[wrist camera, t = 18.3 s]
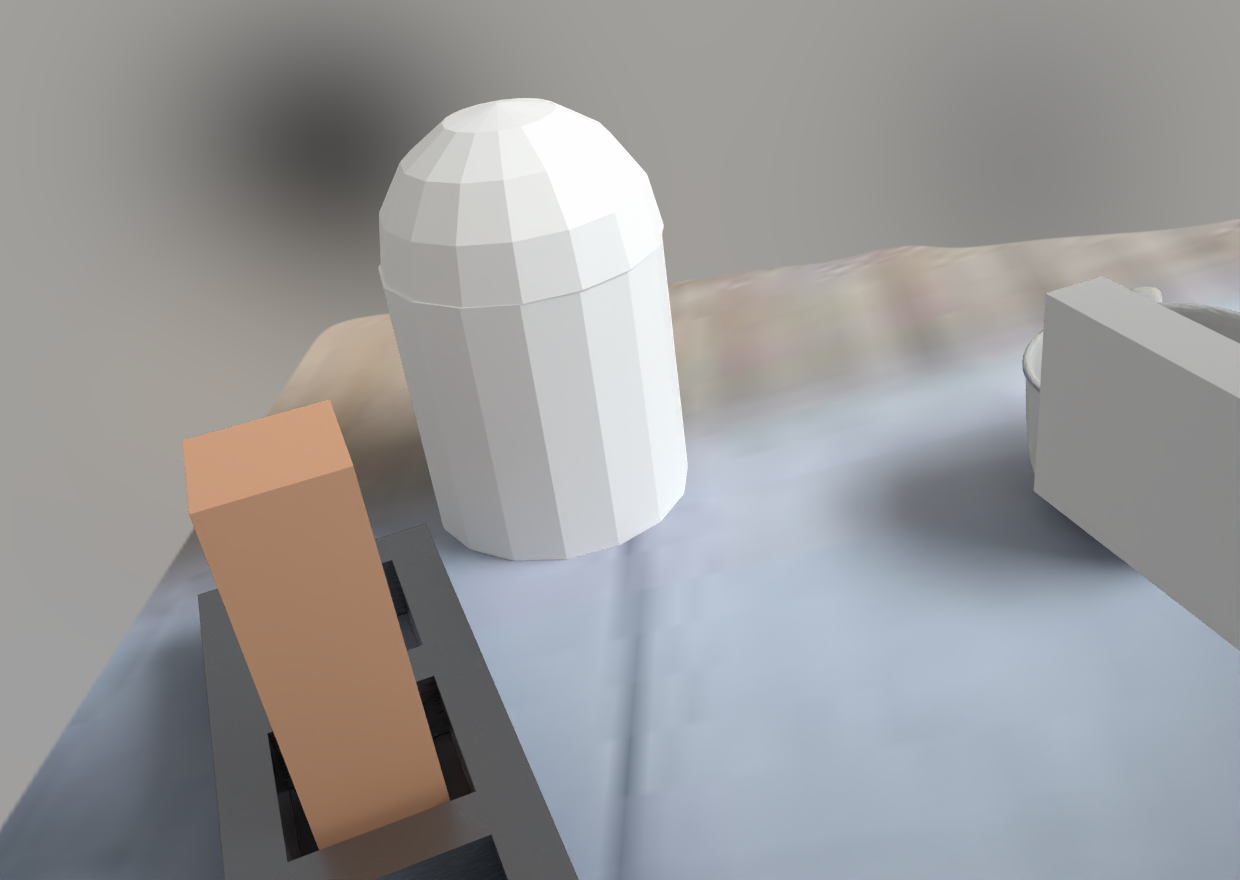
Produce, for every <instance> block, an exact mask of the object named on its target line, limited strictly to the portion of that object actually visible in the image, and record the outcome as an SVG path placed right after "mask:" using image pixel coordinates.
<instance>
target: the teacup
mask: <svg viewBox="0 0 1240 880" xmlns="http://www.w3.org/2000/svg"><path fill="white" fill-rule="evenodd" d="M1130 290H1132V291H1134V292H1136V293H1138V294H1140V295H1142V296H1144V297H1146V298H1148V299H1150V300H1152V301H1154V302H1156V303H1158V304H1160V305H1162V306H1164V307H1166V308H1168V309H1170V310H1172V311H1174V312H1176V313H1178V314H1180V315H1182V316H1184V317H1187V318H1189V319H1191V320H1193V321H1195V322H1197V323H1199V324H1201V325H1203V326H1205V327H1207V328H1209V329H1211V330H1213V331H1215V332H1217V333H1219V334H1221V335H1223V336H1225V337H1227V338H1229V339H1231V340H1233V341H1235V342H1237V343H1239V344H1240V312H1236V311H1232V310H1229V309H1224V308H1220V307H1213V306H1206V305H1200V304H1190V303H1172V302H1162V296H1161V292H1160V291H1159V290H1158V289H1156V288H1154V287H1137V288H1132V289H1130ZM1043 330H1044V329H1043ZM1043 330H1042V331H1041V332H1040V333H1039V334H1037V335H1036V336H1035V337H1034V338H1033V339H1032V341H1031V342H1030V344H1029V345H1028V346H1027V347H1026V349H1025V352H1024V355H1023V361H1022V362H1023V372H1024V375H1025V377H1026V420H1027V435H1028V448H1029V455H1030V461H1031V465H1032V469H1033V472H1034V474H1035V462H1036V446H1037V429H1038V413H1039V396H1040V380H1041V363H1042V347H1043Z"/></svg>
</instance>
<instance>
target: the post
mask: <svg viewBox="0 0 1240 880" xmlns="http://www.w3.org/2000/svg"><path fill="white" fill-rule="evenodd" d="M182 444H183V454H184V464H185V476H186V486H187V496H188V508H189V515H190V518H191V520H192V523H193V526H194V528H195V531H196V533H197V536H198V539H199V541H200V544H201V546H202V549H203V552H204V554H205V557H206V559H207V562H208V564H209V567H210V570H211V572H212V575H213V577H214V580H215V582H216V585H217V588H218V590H219V593H220V595H221V598H222V601H223V603H224V606H225V608H226V611H227V613H228V616H229V619H230V621H231V624H232V626H233V629H234V632H235V634H236V637H237V639H238V642H239V644H240V647H241V650H242V652H243V655H244V657H245V660H246V663H247V665H248V668H249V670H250V673H251V675H252V678H253V681H254V683H255V686H256V688H257V691H258V694H259V696H260V699H261V701H262V704H263V706H264V709H265V712H266V714H267V717H268V719H269V722H270V725H271V727H272V730H273V732H274V735H275V737H276V740H277V743H278V745H279V748H280V750H281V753H282V756H283V758H284V761H285V763H286V766H287V768H288V771H289V774H290V776H291V779H292V781H293V784H294V787H295V789H296V792H297V794H298V797H299V799H300V802H301V805H302V807H303V810H304V812H305V815H306V818H307V820H308V823H309V825H310V828H311V830H312V833H313V836H314V838H315V841H316V843H317V846H318V849H319V850H321V849H324V848H327V847H329V846H332V845H335V844H337V843H340V842H343V841H345V840H348V839H351V838H353V837H356V836H359V835H361V834H364V833H367V832H369V831H372V830H375V829H377V828H380V827H383V826H385V825H388V824H391V823H393V822H396V821H399V820H401V819H404V818H407V817H409V816H412V815H415V814H417V813H420V812H423V811H425V810H428V809H431V808H433V807H436V806H438V805H441V804H444V803H446V802H449V801H450V798H449V794H448V791H447V788H446V784H445V781H444V777H443V774H442V770H441V767H440V763H439V760H438V756H437V753H436V750H435V746H434V743H433V739H432V736H431V732H430V729H429V725H428V722H427V718H426V715H425V711H424V708H423V705H422V701H421V698H420V694H419V691H418V687H417V684H416V680H415V677H414V673H413V670H412V667H411V663H410V660H409V656H408V653H407V649H406V646H405V642H404V639H403V635H402V632H401V629H400V625H399V622H398V618H397V615H396V611H395V608H394V604H393V601H392V597H391V594H390V591H389V587H388V584H387V580H386V577H385V573H384V570H383V566H382V563H381V559H380V556H379V553H378V549H377V546H376V542H375V539H374V535H373V532H372V528H371V525H370V521H369V518H368V514H367V511H366V508H365V504H364V501H363V497H362V494H361V490H360V487H359V483H358V480H357V476H356V473H355V470H354V466H353V463H352V460H351V458H350V455H349V452H348V449H347V446H346V444H345V441H344V438H343V435H342V432H341V430H340V427H339V424H338V421H337V418H336V416H335V413H334V410H333V407H332V404H331V402H330V399H329V400H325V401H321V402H318V403H314V404H311V405H307V406H303V407H300V408H296V409H293V410H289V411H285V412H282V413H278V414H275V415H271V416H267V417H264V418H260V419H257V420H253V421H249V422H246V423H242V424H239V425H235V426H231V427H228V428H224V429H221V430H217V431H213V432H210V433H206V434H203V435H199V436H196V437H192V438H188V439H185V440H182Z"/></svg>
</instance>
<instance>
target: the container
mask: <svg viewBox="0 0 1240 880" xmlns="http://www.w3.org/2000/svg"><path fill="white" fill-rule="evenodd" d="M379 227H380V256H381V264H380V265H379V267H378V269H379V273H380V277H381V281H382V285H383V289H384V293H385V296H386V301H387V305H388V309H389V313H390V317H391V321H392V325H393V329H394V333H395V337H396V341H397V345H398V349H399V353H400V357H401V361H402V365H403V369H404V373H405V377H406V381H407V385H408V389H409V393H410V397H411V401H412V405H413V409H414V413H415V417H416V421H417V425H418V429H419V433H420V437H421V441H422V445H423V449H424V453H425V457H426V461H427V465H428V469H429V473H430V477H431V481H432V485H433V489H434V493H435V497H436V501H437V505H438V509H439V513H440V516H441V520H442V524H443V528H444V529H445V530H446V531H447V532H449V533H450V534H451V535H452V536H454V537H455V538H456V539H457V540H459V541H460V542H461V543H462V544H464V545H465V546H466V547H468V548H469V549H470V550H473V551H477V552H481V553H485V554H489V555H493V556H497V557H501V558H504V559H508V560H512V561H529V560H567V559H571V558H574V557H578V556H582V555H585V554H589V553H593V552H597V551H600V550H604V549H608V548H612V547H615V546H619V545H621V544H623V543H624V542H626V541H628V540H630V539H631V538H633V537H635V536H637V535H638V534H640V533H642V532H644V531H645V530H647V529H649V528H651V527H652V526H654V525H656V524H658V523H659V522H661V521H662V519H663V518H664V517H665V516H666V515H667V513H668V512H669V511H670V510H671V509H672V507H673V506H674V505H675V504H676V503H677V501H678V500H679V499H680V498H681V497H682V495H683V494H684V490H685V482H686V474H687V467H688V464H687V455H686V446H685V437H684V428H683V419H682V410H681V401H680V392H679V383H678V374H677V365H676V356H675V347H674V338H673V329H672V320H671V311H670V302H669V293H668V284H667V276H666V267H665V258H664V248H663V239H662V231H663V227H664V225H663V222H662V219H661V216H660V213H659V209H658V206H657V203H656V201H655V197H654V194H653V192H652V188H651V185H650V182H649V179H648V176H647V174H646V173H645V171H644V170H643V169H642V168H641V167H640V166H639V165H638V164H637V162H636V161H635V160H634V159H633V158H632V157H631V156H630V155H629V153H628V152H627V151H626V150H625V149H624V148H623V147H622V145H620V143H619V142H618V141H617V140H616V139H615V138H614V136H612V134H611V133H610V132H609V131H608V130H607V129H606V128H605V127H604V126H603V125H602V124H600V123H599V122H597V121H595V120H593V119H591V118H588V117H586V116H584V115H582V114H579V113H577V112H575V111H572V110H570V109H568V108H565V107H563V106H561V105H558V104H556V103H554V102H552V101H547V100H543V99H535V98H534V99H533V98H518V99H507V100H498V101H493V102H488V103H484V104H478V105H475V106H472V107H469V108H465V109H462V110H460V111H457V112H455V113H453V114H451V115H449V116H447V117H446V118H445V119H444V120H443V121H442V122H441V123H440V124H438V125H437V126H436V127H435V128H434V129H433V130H432V131H431V132H430V133H429V134H428V135H426V136H425V137H424V138H423V139H422V140H421V141H420V142H419V143H418V144H417V145H416V146H414V147H413V148H412V149H411V150H410V151H409V153H408V154H407V155H406V156H405V157H404V158H403V159H402V161H401V162H400V164H399V166H398V168H397V171H396V173H395V176H394V178H393V180H392V183H391V185H390V188H389V190H388V193H387V195H386V197H385V200H384V203H383V205H382V208H381V210H380V212H379Z"/></svg>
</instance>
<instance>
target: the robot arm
mask: <svg viewBox="0 0 1240 880" xmlns="http://www.w3.org/2000/svg"><path fill="white" fill-rule="evenodd" d="M1034 492H1035V493H1037V494H1038V495H1039V496H1041V497H1042V498H1043V499H1044V500H1046V501H1047V502H1048V503H1050V504H1051V505H1052V506H1053V507H1055V508H1056V509H1057V510H1059V511H1060V512H1061V513H1062V514H1064V515H1065V516H1066V517H1068V518H1069V519H1070V520H1072V521H1073V522H1074V523H1075V524H1077V525H1078V526H1079V527H1081V528H1082V529H1083V530H1084V531H1086V532H1087V533H1088V534H1090V535H1091V536H1092V537H1094V538H1095V539H1096V540H1097V541H1099V542H1100V543H1101V544H1103V545H1104V546H1105V547H1106V548H1108V549H1109V550H1110V551H1112V552H1113V553H1114V554H1115V555H1117V556H1118V557H1119V558H1121V559H1122V560H1123V561H1125V562H1126V563H1127V564H1128V565H1130V566H1131V567H1132V568H1134V569H1135V570H1136V571H1137V572H1139V573H1140V574H1141V575H1143V576H1144V577H1145V578H1146V579H1148V580H1149V581H1150V582H1152V583H1153V584H1154V585H1156V586H1157V587H1158V588H1159V589H1161V590H1162V591H1163V592H1165V593H1166V594H1167V595H1168V596H1170V597H1171V598H1172V599H1174V600H1175V601H1176V602H1178V603H1179V604H1180V605H1181V606H1183V607H1184V608H1185V609H1187V610H1188V611H1189V612H1190V613H1192V614H1193V615H1194V616H1196V617H1197V618H1198V619H1199V620H1201V621H1202V622H1203V623H1205V624H1206V625H1207V626H1209V627H1210V628H1211V629H1212V630H1214V631H1215V632H1216V633H1218V634H1219V635H1220V636H1221V637H1223V638H1224V639H1225V640H1227V641H1228V642H1229V643H1230V644H1232V645H1233V646H1234V647H1236V648H1237V649H1238V650H1240V344H1239V343H1237V342H1235V341H1233V340H1231V339H1229V338H1227V337H1225V336H1223V335H1221V334H1219V333H1217V332H1215V331H1213V330H1211V329H1209V328H1207V327H1205V326H1203V325H1201V324H1199V323H1197V322H1195V321H1193V320H1191V319H1189V318H1187V317H1184V316H1182V315H1180V314H1178V313H1176V312H1174V311H1172V310H1170V309H1168V308H1166V307H1164V306H1162V305H1160V304H1158V303H1156V302H1154V301H1152V300H1150V299H1148V298H1146V297H1144V296H1142V295H1140V294H1138V293H1136V292H1134V291H1132V290H1130V289H1128V288H1125V287H1123V286H1121V285H1119V284H1117V283H1115V282H1113V281H1111V280H1109V279H1107V278H1105V277H1103V276H1100V277H1097V278H1094V279H1091V280H1087V281H1084V282H1081V283H1078V284H1074V285H1071V286H1068V287H1065V288H1061V289H1058V290H1055V291H1052V292H1048V293H1046V297H1045V314H1044V330H1043V347H1042V363H1041V380H1040V396H1039V413H1038V429H1037V446H1036V462H1035V479H1034Z"/></svg>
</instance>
